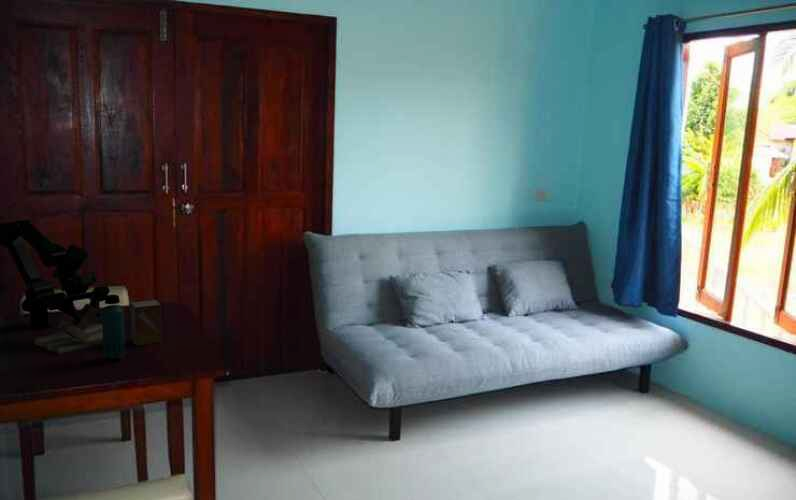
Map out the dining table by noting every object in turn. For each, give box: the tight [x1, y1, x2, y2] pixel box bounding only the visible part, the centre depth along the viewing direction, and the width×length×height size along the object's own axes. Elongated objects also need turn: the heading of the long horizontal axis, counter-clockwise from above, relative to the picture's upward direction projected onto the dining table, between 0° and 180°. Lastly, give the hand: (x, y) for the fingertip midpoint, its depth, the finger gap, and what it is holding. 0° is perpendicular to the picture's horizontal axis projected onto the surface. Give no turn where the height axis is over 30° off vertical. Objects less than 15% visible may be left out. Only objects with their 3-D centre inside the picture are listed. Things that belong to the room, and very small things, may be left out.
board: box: [33, 323, 103, 355], centre depth 226 cm, size 15×22×2 cm
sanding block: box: [57, 303, 99, 343], centre depth 221 cm, size 8×6×11 cm
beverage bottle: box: [100, 294, 127, 359], centre depth 208 cm, size 6×7×20 cm
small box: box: [130, 299, 162, 347], centre depth 226 cm, size 8×6×13 cm
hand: (89, 318), depth 221 cm, fingers closed on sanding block, 6 cm apart
